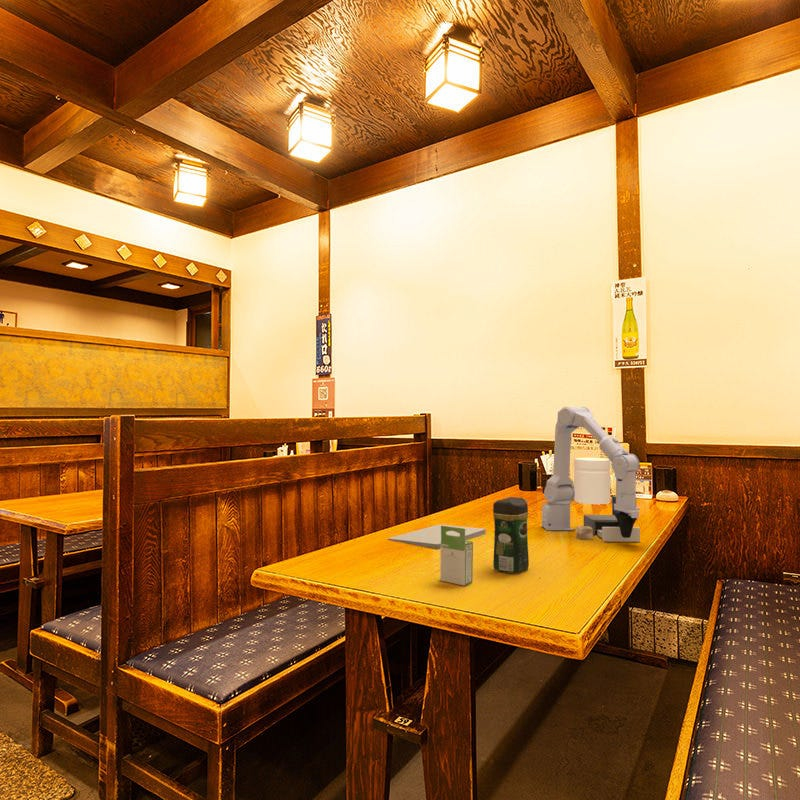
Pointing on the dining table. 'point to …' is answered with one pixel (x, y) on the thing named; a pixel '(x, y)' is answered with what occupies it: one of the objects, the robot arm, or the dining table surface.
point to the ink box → (456, 557)
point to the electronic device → (434, 536)
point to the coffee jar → (510, 535)
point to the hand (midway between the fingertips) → (626, 537)
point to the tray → (618, 534)
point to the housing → (600, 521)
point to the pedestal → (584, 533)
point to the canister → (592, 480)
